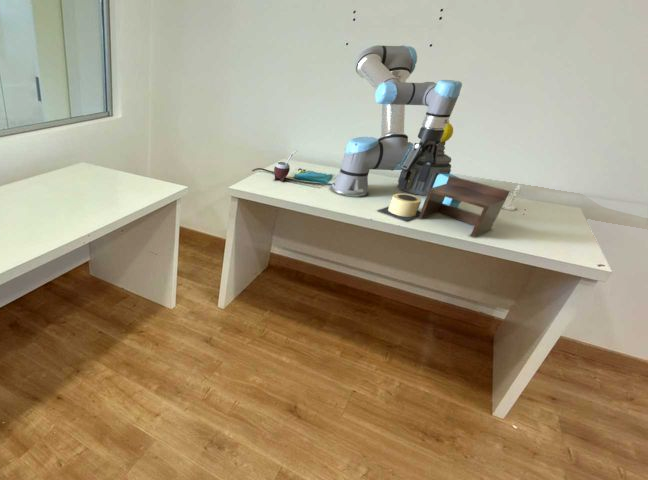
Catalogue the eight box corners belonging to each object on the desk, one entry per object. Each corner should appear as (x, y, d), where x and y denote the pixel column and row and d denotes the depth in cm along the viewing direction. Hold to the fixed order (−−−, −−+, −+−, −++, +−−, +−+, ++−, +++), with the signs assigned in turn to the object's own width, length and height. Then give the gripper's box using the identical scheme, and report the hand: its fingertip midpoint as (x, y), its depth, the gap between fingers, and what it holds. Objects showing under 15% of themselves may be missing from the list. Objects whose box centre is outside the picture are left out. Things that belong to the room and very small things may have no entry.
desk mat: (377, 211, 166) (377, 210, 166) (397, 204, 172) (397, 203, 172) (406, 221, 157) (406, 220, 157) (425, 214, 164) (426, 213, 163)
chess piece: (512, 206, 172) (524, 183, 166) (516, 210, 168) (529, 187, 162) (498, 204, 173) (510, 182, 168) (502, 209, 169) (514, 185, 164)
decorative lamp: (386, 184, 194) (409, 118, 178) (418, 181, 199) (442, 116, 182) (418, 198, 179) (446, 127, 163) (452, 194, 183) (482, 125, 167)
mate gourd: (269, 178, 200) (275, 147, 192) (283, 176, 202) (289, 146, 194) (278, 183, 194) (284, 151, 186) (292, 181, 196) (298, 150, 188)
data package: (457, 210, 168) (469, 181, 161) (447, 210, 167) (459, 182, 161) (436, 199, 178) (448, 172, 171) (427, 199, 177) (438, 172, 171)
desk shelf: (418, 217, 160) (432, 181, 152) (435, 211, 166) (450, 175, 158) (473, 237, 146) (493, 197, 138) (490, 229, 152) (510, 191, 144)
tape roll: (406, 218, 159) (412, 203, 155) (383, 210, 166) (388, 195, 163) (420, 213, 163) (426, 199, 160) (397, 205, 170) (402, 191, 167)
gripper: (424, 134, 139) (402, 193, 151) (461, 126, 150) (438, 181, 162) (403, 129, 144) (383, 186, 156) (440, 122, 155) (419, 176, 167)
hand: (411, 184), depth 159 cm, fingers open, 13 cm apart
